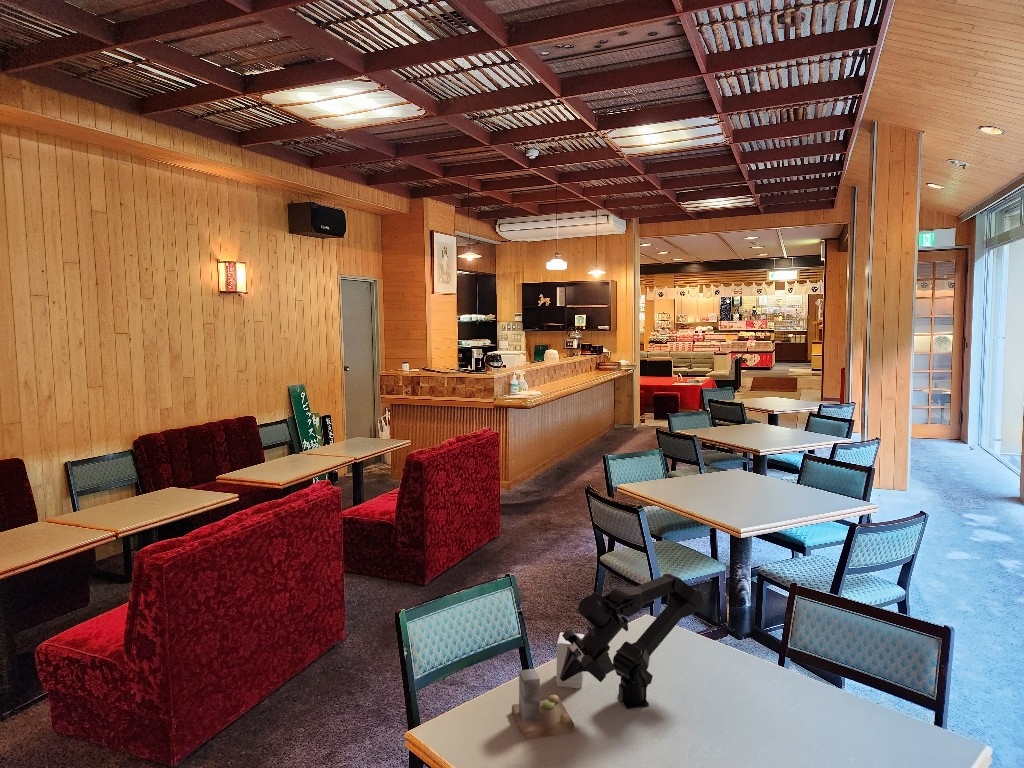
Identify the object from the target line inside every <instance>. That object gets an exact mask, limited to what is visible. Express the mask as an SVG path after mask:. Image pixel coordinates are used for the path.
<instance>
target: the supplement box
mask: <svg viewBox="0 0 1024 768" xmlns="http://www.w3.org/2000/svg"><path fill="white" fill-rule="evenodd" d="M564 633H565V632H562V631H561V632H559V635H558V639H557V643H556V683H555V684H556V686H557V687H563V688H573V689H582V688H583V681H584V676H585V672H580V673H578V674H576V675H574V676H572V677H571V678H569V679H567V680H565V681H562V680H561V679H560V675H561V672H562V668H563V665H564V661H565V657H566V653H567V647H569V648H570V647H571V646H572V644H571V643H570V642H569V641H566V640H565V639H564V638H563V636H562V635H563V634H564ZM574 633H575V632H574ZM575 634H576V635H577V636H579V637H580V638H581V639H582V638H583V637H584V636H585V634H583V633H575Z"/></svg>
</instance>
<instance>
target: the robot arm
mask: <svg viewBox="0 0 1024 768" xmlns="http://www.w3.org/2000/svg"><path fill="white" fill-rule="evenodd" d="M667 595H668V597H667V605H666V607H664V609H663V610H662V611H661V612H660V613H659V614H658V616H657V617H656V618H654V620H653V621H652V622H651V624H650V625H649V626H648V627H647V628H646V629H645V631H644V632H643V633H642V634H641V635H640V637H639V638H638V639H637V640H635V642H633V643H631V642H629V641H627V640H626V641H625V642H623V643H622V644H621V647H619V648H618V649H617V650H616V651H615V652H616V653H615V654H614V656H613V659H611V658H610V656H609V655H610V653H609V651H610V649H611V646H610V645H609V644H610V642H611V641H612V640H613V639H614V638H615V637H617V636H616V635H618V633H619V632H620V631H621V630H622V629H623V630H624V631H625V632H628V631H629V620H628V619H627V618H629V617H633V616H634V615H636V614H637V613H638V612H640V611H641V610H642V607H643V606H644V605H646V604H647V603H650V602H652V601H655V600H658V599H660V598H662V597H664V596H667ZM703 602H704V597H703V594H702V592H701V591H700V590H698V589H697V588H694V587H692V586H690V585H689V584H687V583H686V582H685V581H684V580H683V579H681V578H680V577H679V576H676V575H674V574H672V573H664V574H663V575H662V576H659V577H657V578H654V579H651V580H649V581H647V582H644V583H642V584H639V585H637V586H619V587H615V588H613V589H611V590H610V592H608V593H607V594H605V595H603V596H602V595H601V594H599V593H597V592H595V591H593V592H592V593H591V595H588V596H585V597H584V598H583V599H581V601H580V602H579V604H578V607H577V608H578V609H577V610H578V614H579V615H580V616H581V617H583V619H585V620H586V621H587V622H588V623H589V624H591V626H592V627H591V626H590V625H588V626H587V627H586V630H587V632H586V633H585V634H584V637H583V638H582V639H581V638H580V637H579V636H577V635H576V634H577V633H576V634H575V631H573V630H572V629H566V630H565V632H563V633H564V634H563V635H562V636H563V638H564V639H565V640H566V641H569V642H570V643H571V644H572V646H571V647H570V648H569V647H567V653H566V657H565V661H564V665H563V668H562V672H561V675H560V679H561V680H562V681H565V680H567V679H569V678H571V677H572V676H574V675H576V674H578V673H580V672H584V673H587V672H588V673H589V674H591V675H592V676H593V677H594V678H595V679H596V680H597V681H599V683H602V682H603V681H604V679H605V678H606V677H607V675H608V674H610V673H611V672H613V671H615V674H616V675H617V676H619V677H620V683H619V684H618V694H617V698H618V699H619V700H620V702H621V703H622V704H623V706H624V707H625V709H628V710H630V709H637V708H644V707H649V706H650V703H649V701H648V700H647V688H648V685H650V684H651V683H652V681H653V674H652V673H650V672H649V671H648V669H649V666H650V665H649V663H650V658H651V655H652V654H653V653H654V652H655V651H656V650H657V648H659V646H660V645H661V643H662V642H663V641H664V640H665V639H666V638H667V636H668V635H669V634H670V633H671V632H672V631H673V629H674V628H675V627H676V626H677V625H678V623H679V622H680V620H682V619H684V618H687V617H690V616H692V615H693V614H695V613H696V612H697V611H698V610H700V608H701V606H702V605H703ZM626 617H627V618H626Z"/></svg>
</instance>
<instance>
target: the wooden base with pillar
mask: <svg viewBox="0 0 1024 768" xmlns="http://www.w3.org/2000/svg"><path fill="white" fill-rule="evenodd" d="M518 673H519V674H518V675H519V676H518V683H519V684H518V703H515V704H512V705H511V713H512V715H514V716H513V718H514V720H515V722H517V723H516V724H518V725H517V727H518V729H519V732H520V731H521V732H520V734H521V737H522V738H524V739H523V740H530V739H535V738H542V737H550V736H557V735H562V734H568V733H569V734H571V733H574V732H575V723H574V721H573V720H572V718H571V716H570V715H569V712H568V711H567V709H566V707H565V706H564V704H563V702H562V700H561V699H560V698H559V696H558V695H557V694H551V695H549V697H548V699H544V700H540V698H541V695H540V693H541V691H540V690H541V687H540V686H541V681H540V680H541V678H540V676H539V675H538V672H536V669H535V668H530V669H521V670H519V671H518Z"/></svg>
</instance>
